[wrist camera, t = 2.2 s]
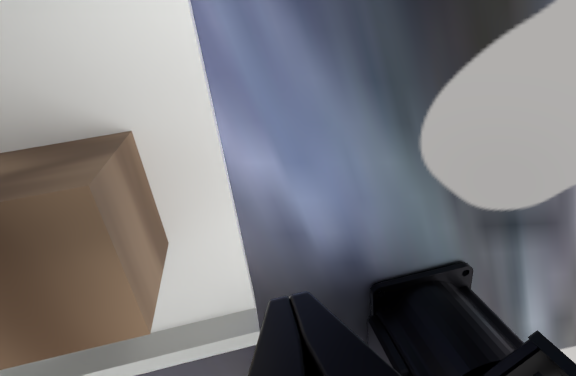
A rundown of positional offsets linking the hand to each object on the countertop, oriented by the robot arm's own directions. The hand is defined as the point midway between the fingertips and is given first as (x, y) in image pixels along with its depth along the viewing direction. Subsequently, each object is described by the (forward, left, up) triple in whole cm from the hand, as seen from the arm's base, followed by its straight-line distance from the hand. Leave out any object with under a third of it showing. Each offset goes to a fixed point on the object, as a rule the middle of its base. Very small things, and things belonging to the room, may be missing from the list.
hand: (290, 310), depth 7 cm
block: (+7, 0, -8) cm, 10 cm away
